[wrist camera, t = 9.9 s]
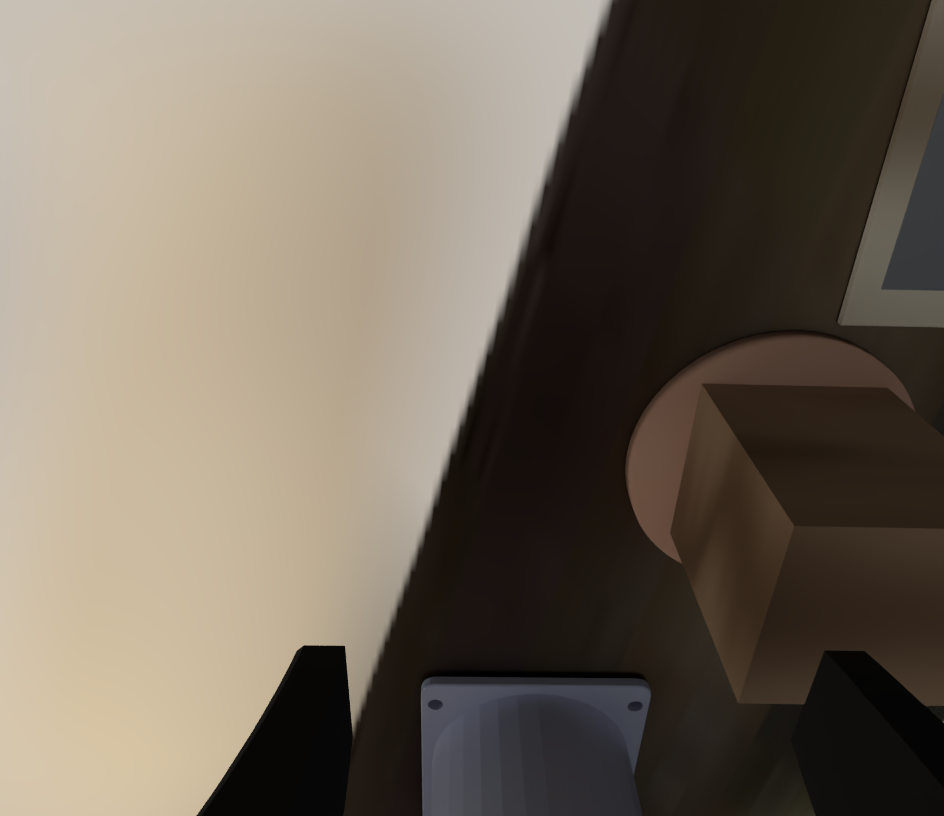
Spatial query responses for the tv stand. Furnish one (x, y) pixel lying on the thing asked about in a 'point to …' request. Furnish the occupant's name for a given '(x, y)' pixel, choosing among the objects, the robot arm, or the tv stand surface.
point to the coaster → (740, 362)
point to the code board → (907, 206)
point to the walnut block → (814, 535)
